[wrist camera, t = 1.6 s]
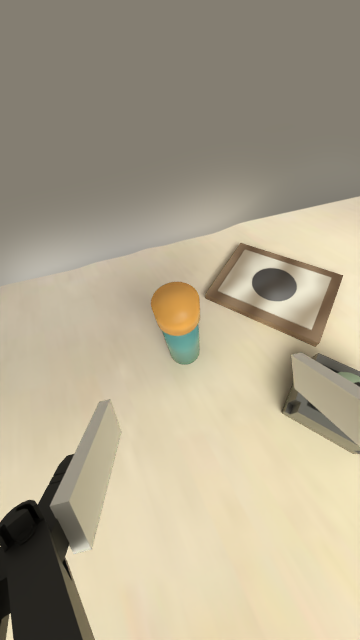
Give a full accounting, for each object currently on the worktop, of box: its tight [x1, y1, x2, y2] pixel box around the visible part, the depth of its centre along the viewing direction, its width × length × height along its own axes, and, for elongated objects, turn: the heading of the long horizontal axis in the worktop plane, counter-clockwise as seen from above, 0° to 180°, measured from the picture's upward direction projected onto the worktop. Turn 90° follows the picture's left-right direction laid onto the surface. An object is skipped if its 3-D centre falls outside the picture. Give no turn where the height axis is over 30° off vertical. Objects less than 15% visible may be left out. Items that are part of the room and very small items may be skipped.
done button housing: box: [282, 353, 360, 454], centre depth 25 cm, size 8×8×4 cm
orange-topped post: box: [151, 282, 200, 364], centre depth 26 cm, size 5×5×13 cm
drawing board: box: [205, 243, 343, 347], centre depth 35 cm, size 18×14×2 cm
